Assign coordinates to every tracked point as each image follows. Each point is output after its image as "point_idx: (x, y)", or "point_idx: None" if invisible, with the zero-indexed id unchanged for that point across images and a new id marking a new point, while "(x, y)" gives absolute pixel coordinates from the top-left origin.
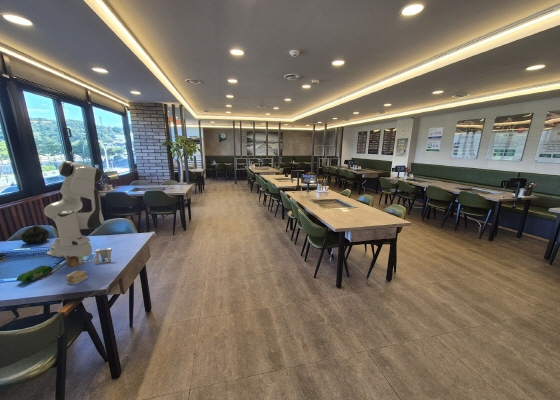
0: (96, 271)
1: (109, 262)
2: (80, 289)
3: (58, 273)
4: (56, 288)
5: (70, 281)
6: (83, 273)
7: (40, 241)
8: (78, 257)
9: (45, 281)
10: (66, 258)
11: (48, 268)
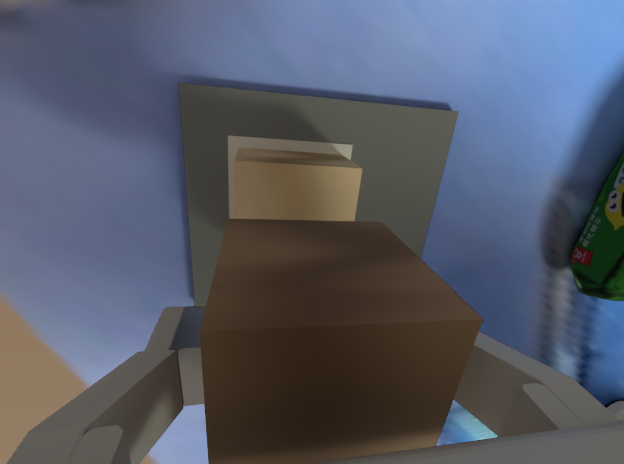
0: None
1: None
2: (97, 50)
3: (511, 266)
4: (362, 59)
5: (306, 153)
6: None
7: None
8: (92, 444)
9: (529, 161)
10: (474, 338)
11: (609, 275)
